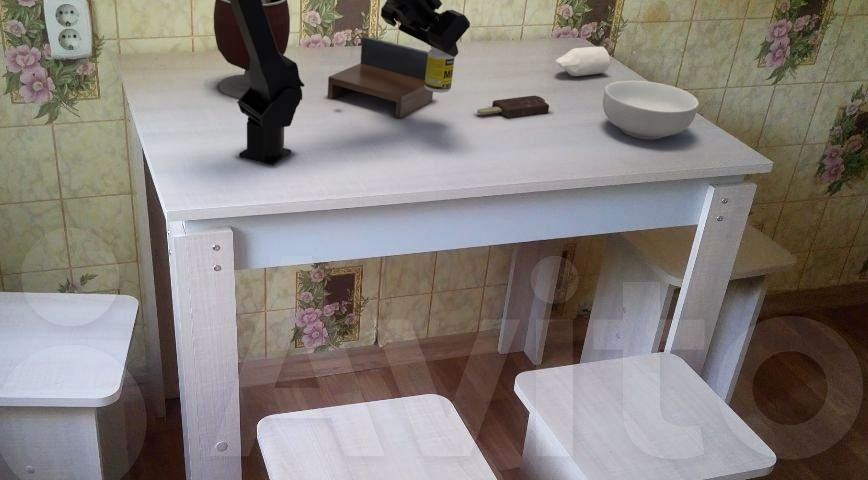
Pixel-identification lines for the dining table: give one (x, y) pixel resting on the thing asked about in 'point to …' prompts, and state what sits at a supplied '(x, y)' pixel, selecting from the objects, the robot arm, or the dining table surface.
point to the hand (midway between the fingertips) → (448, 50)
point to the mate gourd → (234, 44)
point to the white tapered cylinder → (585, 61)
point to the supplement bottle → (439, 71)
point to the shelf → (386, 75)
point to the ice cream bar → (517, 106)
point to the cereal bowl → (648, 108)
